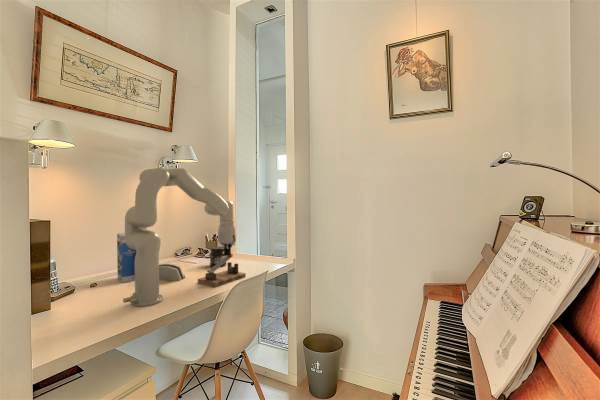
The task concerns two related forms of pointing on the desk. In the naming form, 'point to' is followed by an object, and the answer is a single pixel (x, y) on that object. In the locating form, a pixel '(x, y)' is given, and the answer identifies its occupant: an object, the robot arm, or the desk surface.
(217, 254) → the supplement container
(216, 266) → the strap
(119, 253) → the string lights box
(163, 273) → the grey curved block
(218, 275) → the strap board
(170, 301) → the desk surface
